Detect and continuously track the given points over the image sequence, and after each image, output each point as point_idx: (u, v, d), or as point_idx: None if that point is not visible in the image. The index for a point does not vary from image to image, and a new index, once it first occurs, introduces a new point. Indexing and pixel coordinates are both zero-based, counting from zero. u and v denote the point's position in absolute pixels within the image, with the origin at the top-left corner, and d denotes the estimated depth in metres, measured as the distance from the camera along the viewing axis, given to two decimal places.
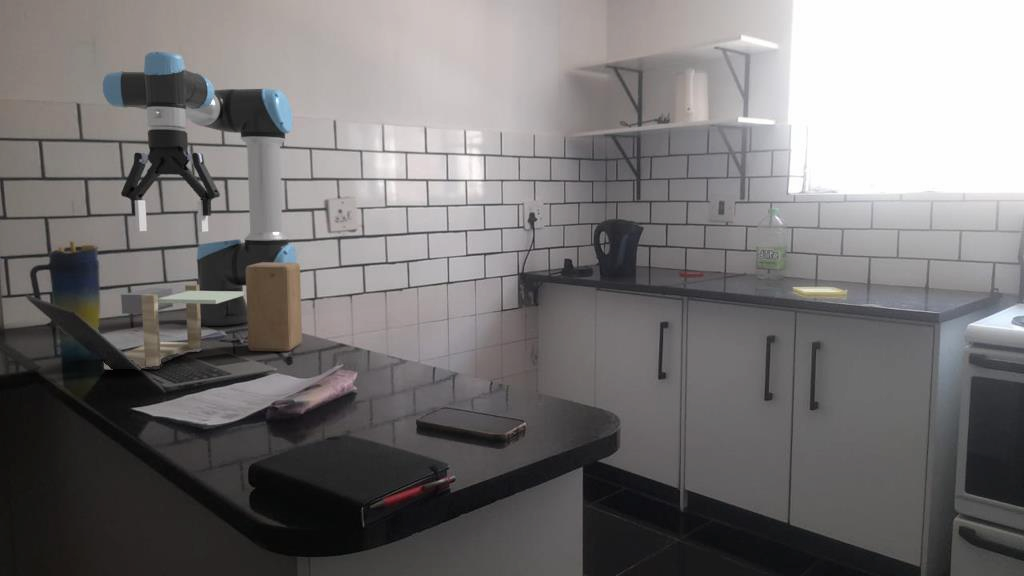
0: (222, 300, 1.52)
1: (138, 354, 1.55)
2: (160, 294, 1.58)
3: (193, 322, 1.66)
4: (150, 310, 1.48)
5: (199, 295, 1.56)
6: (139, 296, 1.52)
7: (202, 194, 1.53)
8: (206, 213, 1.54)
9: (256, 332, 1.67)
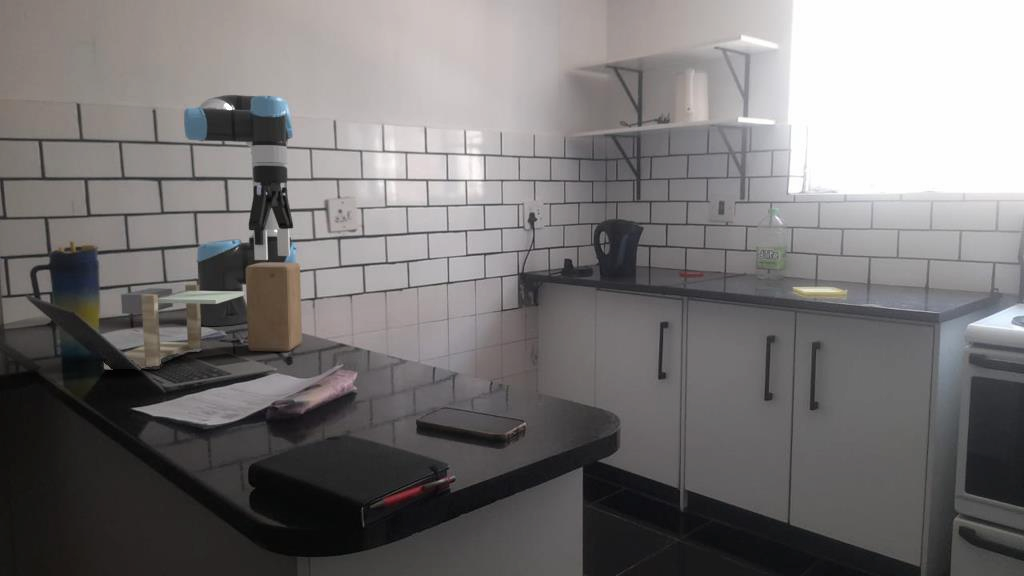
0: (222, 300, 1.52)
1: (138, 354, 1.55)
2: (160, 294, 1.58)
3: (193, 322, 1.66)
4: (150, 310, 1.48)
5: (199, 295, 1.56)
6: (139, 296, 1.52)
7: None
8: None
9: (256, 332, 1.67)
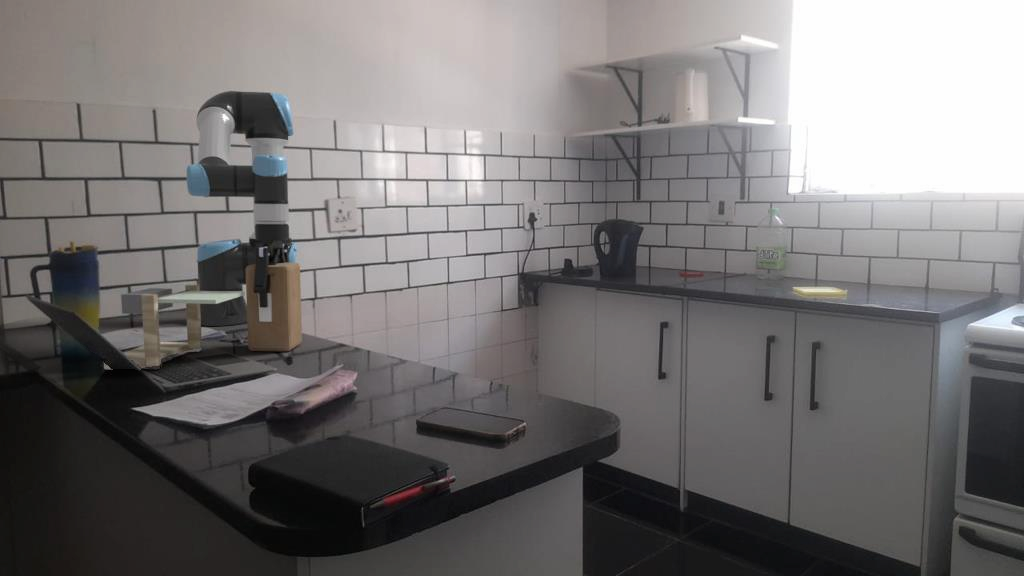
0: (222, 300, 1.52)
1: (138, 354, 1.55)
2: (160, 294, 1.58)
3: (193, 322, 1.66)
4: (150, 310, 1.48)
5: (199, 295, 1.56)
6: (139, 296, 1.52)
7: None
8: None
9: (256, 332, 1.67)
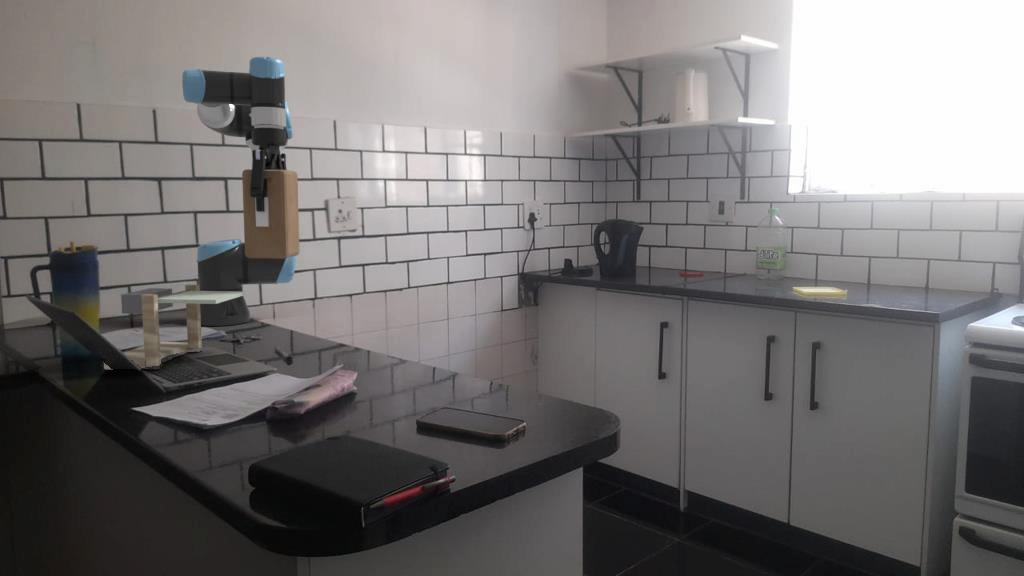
0: (222, 300, 1.52)
1: (138, 354, 1.55)
2: (160, 294, 1.58)
3: (193, 322, 1.66)
4: (150, 310, 1.48)
5: (199, 295, 1.56)
6: (139, 296, 1.52)
7: None
8: None
9: (252, 238, 1.65)
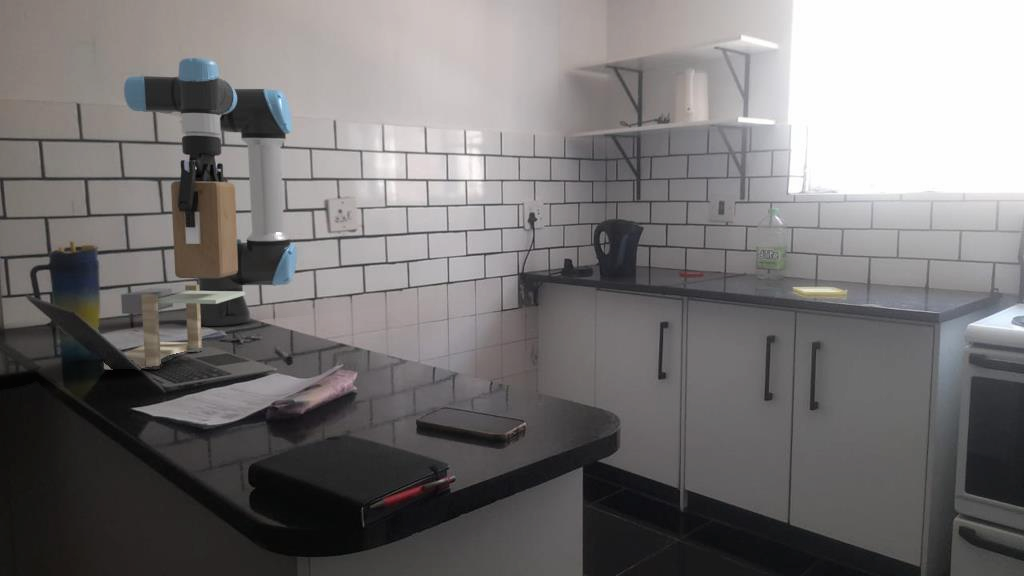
0: (222, 300, 1.52)
1: (138, 354, 1.55)
2: (160, 294, 1.58)
3: (193, 322, 1.66)
4: (150, 310, 1.48)
5: (199, 295, 1.56)
6: (139, 296, 1.52)
7: None
8: None
9: (183, 256, 1.51)
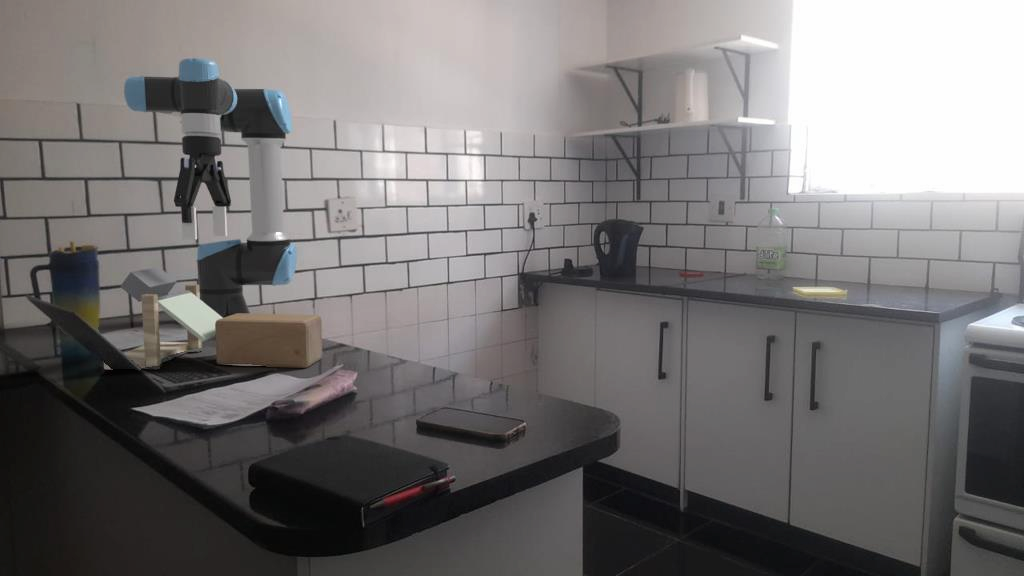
0: (210, 338, 1.54)
1: (138, 354, 1.55)
2: (163, 286, 1.58)
3: None
4: (150, 310, 1.48)
5: (195, 314, 1.57)
6: (144, 285, 1.52)
7: None
8: None
9: (234, 331, 1.52)
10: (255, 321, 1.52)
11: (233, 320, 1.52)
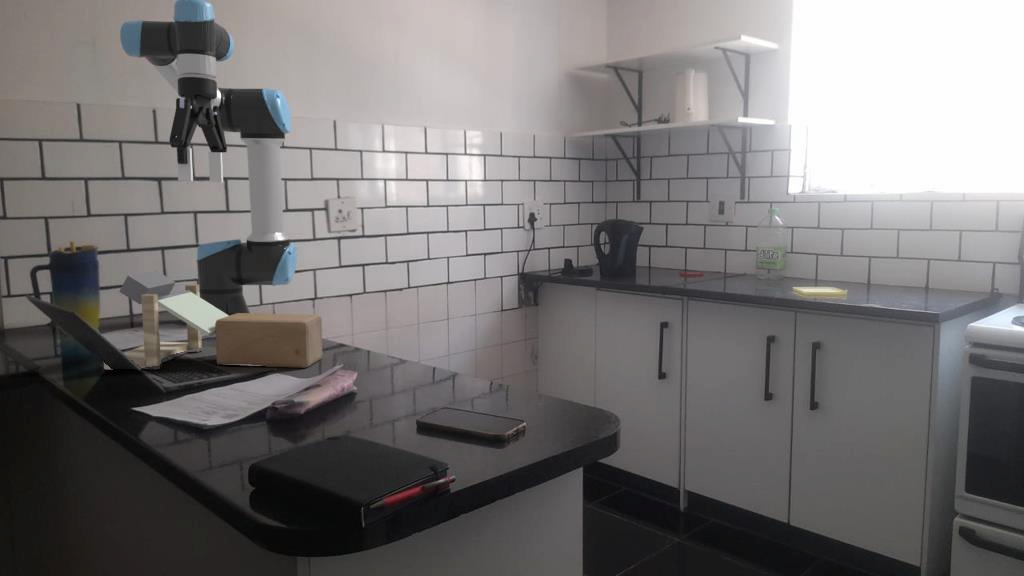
0: (214, 332, 1.53)
1: (138, 354, 1.55)
2: (162, 287, 1.58)
3: None
4: (150, 310, 1.48)
5: (196, 311, 1.57)
6: (143, 286, 1.52)
7: None
8: None
9: (234, 331, 1.52)
10: (255, 321, 1.52)
11: (233, 320, 1.52)
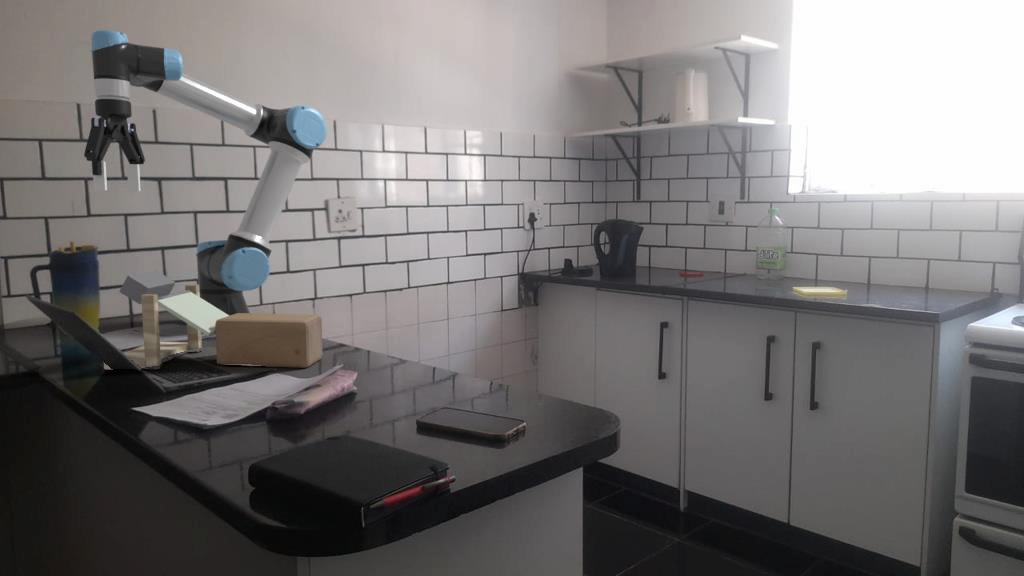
0: (214, 332, 1.53)
1: (138, 354, 1.55)
2: (162, 287, 1.58)
3: None
4: (150, 310, 1.48)
5: (196, 310, 1.57)
6: (143, 287, 1.52)
7: None
8: None
9: (234, 331, 1.52)
10: (255, 321, 1.52)
11: (233, 320, 1.52)
